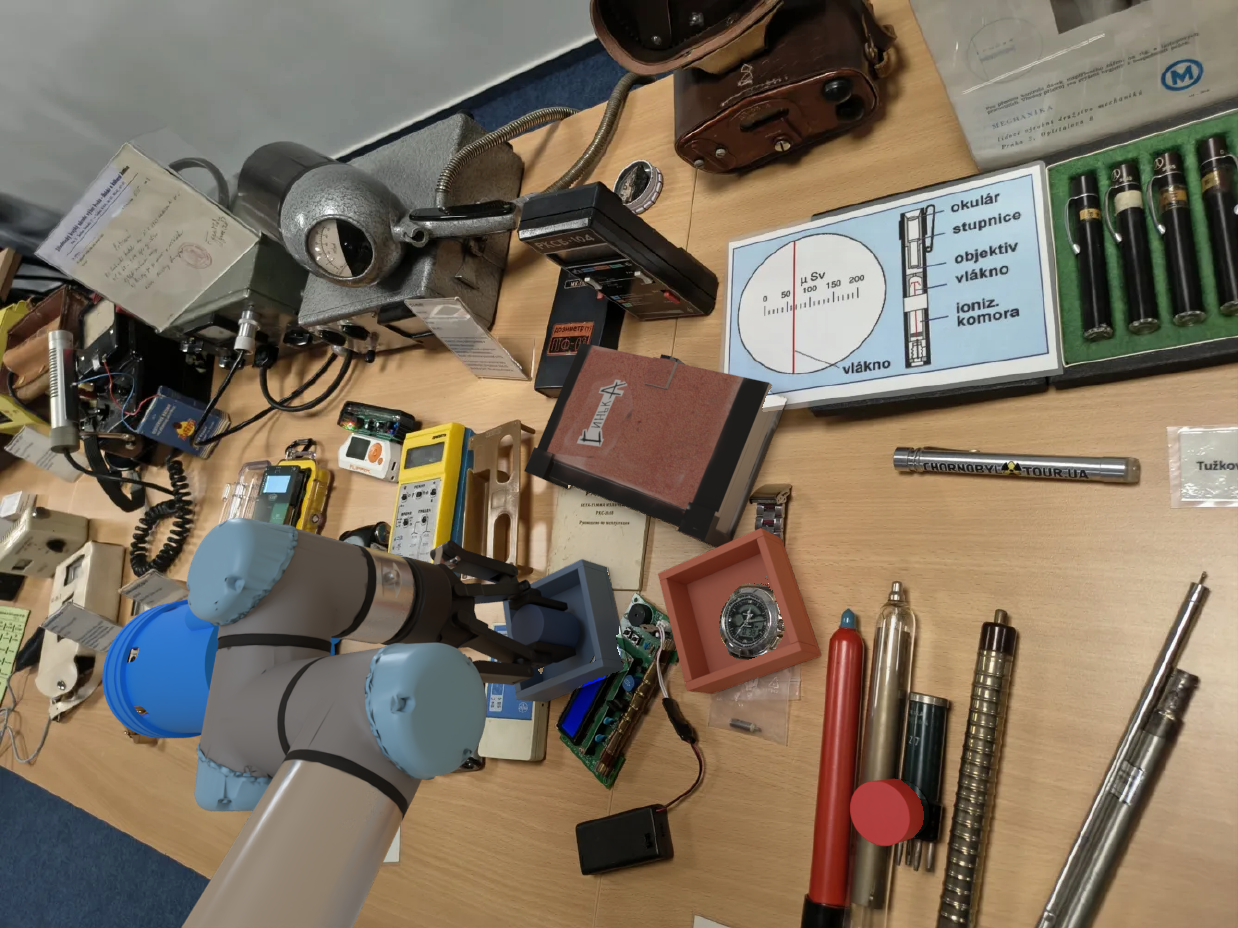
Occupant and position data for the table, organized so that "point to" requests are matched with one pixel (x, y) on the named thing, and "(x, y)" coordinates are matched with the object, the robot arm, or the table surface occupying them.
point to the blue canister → (544, 626)
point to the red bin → (705, 590)
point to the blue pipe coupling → (163, 671)
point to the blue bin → (597, 637)
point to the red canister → (886, 812)
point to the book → (658, 439)
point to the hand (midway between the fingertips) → (561, 632)
